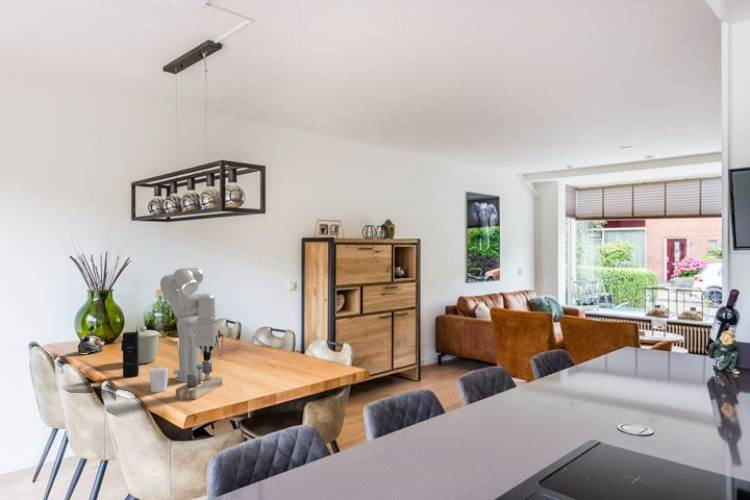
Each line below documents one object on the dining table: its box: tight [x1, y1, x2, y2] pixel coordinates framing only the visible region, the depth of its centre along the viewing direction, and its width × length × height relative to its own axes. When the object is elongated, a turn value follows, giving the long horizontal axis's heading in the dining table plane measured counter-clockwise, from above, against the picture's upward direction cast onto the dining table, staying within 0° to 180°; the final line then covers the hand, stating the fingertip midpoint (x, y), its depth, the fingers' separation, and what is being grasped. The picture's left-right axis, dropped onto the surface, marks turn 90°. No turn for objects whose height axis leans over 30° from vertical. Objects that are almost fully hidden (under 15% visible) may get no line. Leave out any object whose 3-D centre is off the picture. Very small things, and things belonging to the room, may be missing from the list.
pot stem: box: [197, 363, 203, 384], centre depth 223 cm, size 3×3×8 cm
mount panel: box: [175, 375, 223, 400], centre depth 223 cm, size 10×22×4 cm, turn 168°
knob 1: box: [186, 373, 198, 388], centre depth 218 cm, size 4×4×10 cm
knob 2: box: [201, 359, 213, 380], centre depth 229 cm, size 4×4×10 cm
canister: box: [133, 325, 161, 365], centre depth 283 cm, size 18×18×21 cm
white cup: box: [149, 366, 169, 393], centre depth 226 cm, size 8×8×10 cm
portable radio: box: [120, 327, 140, 378], centre depth 252 cm, size 8×6×25 cm
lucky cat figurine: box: [77, 335, 106, 354], centre depth 310 cm, size 15×12×14 cm
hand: (207, 360), depth 229 cm, fingers closed
